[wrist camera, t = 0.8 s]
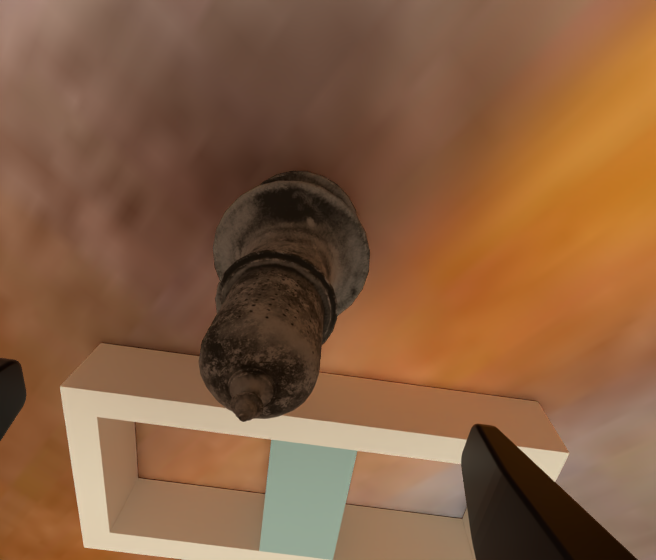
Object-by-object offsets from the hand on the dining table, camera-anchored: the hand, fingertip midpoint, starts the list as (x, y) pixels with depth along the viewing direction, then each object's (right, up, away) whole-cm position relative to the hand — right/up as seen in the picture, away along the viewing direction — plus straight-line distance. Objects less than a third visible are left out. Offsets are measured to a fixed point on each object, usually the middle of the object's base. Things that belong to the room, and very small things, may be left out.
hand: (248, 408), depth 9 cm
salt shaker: (0, +5, +11) cm, 12 cm away
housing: (+1, -7, +16) cm, 18 cm away
